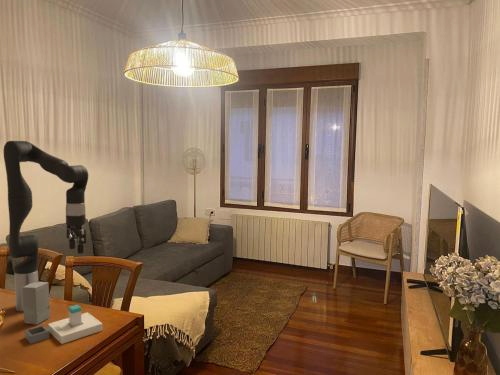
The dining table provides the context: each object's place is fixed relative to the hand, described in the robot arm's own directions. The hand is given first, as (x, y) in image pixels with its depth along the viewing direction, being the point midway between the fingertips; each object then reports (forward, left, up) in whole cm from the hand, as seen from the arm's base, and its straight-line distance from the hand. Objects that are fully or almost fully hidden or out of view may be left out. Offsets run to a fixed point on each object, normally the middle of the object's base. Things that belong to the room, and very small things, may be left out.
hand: (76, 251), depth 165 cm
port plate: (+10, -5, -30) cm, 32 cm away
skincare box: (-10, -13, -30) cm, 34 cm away
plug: (+10, -5, -30) cm, 32 cm away
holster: (+6, -18, -30) cm, 36 cm away
